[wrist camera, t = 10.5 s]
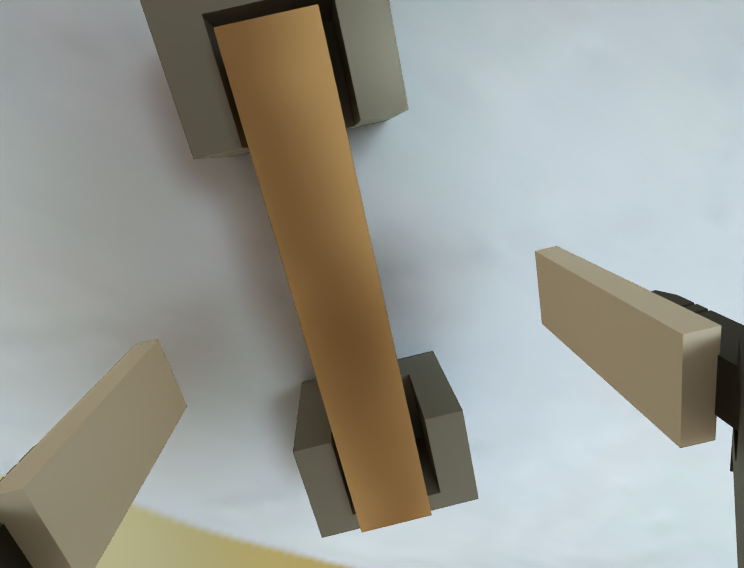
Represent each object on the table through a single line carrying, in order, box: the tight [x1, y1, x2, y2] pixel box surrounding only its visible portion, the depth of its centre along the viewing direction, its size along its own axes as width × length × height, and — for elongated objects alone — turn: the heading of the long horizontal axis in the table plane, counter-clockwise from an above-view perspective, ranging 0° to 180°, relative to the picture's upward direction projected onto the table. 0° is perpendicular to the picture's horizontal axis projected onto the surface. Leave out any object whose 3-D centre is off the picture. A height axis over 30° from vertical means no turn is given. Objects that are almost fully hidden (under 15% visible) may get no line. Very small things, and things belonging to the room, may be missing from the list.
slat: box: [213, 4, 432, 532], centre depth 20 cm, size 4×22×6 cm, turn 12°
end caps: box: [140, 0, 478, 538], centre depth 22 cm, size 8×25×6 cm, turn 12°
